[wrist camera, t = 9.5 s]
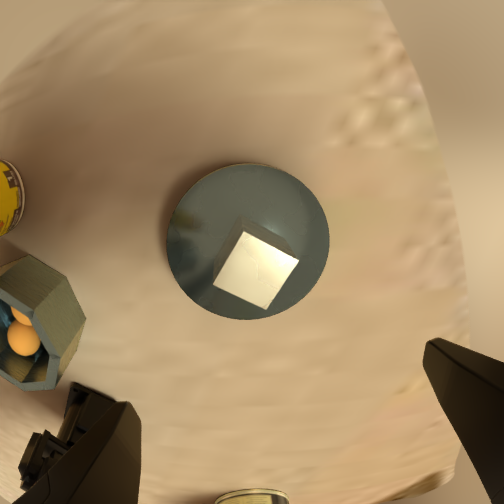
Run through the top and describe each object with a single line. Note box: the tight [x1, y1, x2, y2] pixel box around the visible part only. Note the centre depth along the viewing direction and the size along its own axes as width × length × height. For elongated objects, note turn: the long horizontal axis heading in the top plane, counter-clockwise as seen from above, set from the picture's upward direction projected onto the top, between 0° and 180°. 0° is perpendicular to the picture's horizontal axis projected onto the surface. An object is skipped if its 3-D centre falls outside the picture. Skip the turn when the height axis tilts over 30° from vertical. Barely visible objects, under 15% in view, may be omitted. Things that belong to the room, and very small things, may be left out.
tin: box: [0, 255, 86, 391], centre depth 18 cm, size 9×9×5 cm
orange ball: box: [11, 306, 32, 326], centre depth 18 cm, size 3×3×3 cm
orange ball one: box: [7, 319, 41, 356], centre depth 19 cm, size 3×3×3 cm
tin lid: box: [167, 163, 329, 320], centre depth 18 cm, size 10×10×6 cm
